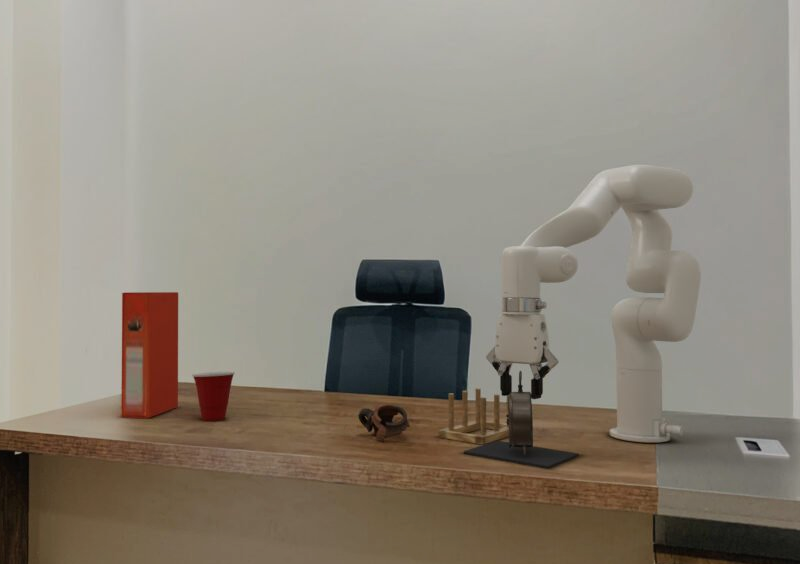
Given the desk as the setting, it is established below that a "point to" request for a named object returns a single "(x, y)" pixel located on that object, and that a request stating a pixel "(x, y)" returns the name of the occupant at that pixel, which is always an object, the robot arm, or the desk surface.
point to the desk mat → (515, 454)
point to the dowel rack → (480, 423)
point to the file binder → (149, 353)
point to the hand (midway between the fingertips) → (521, 395)
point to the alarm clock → (520, 418)
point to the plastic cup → (213, 394)
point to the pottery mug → (384, 420)
